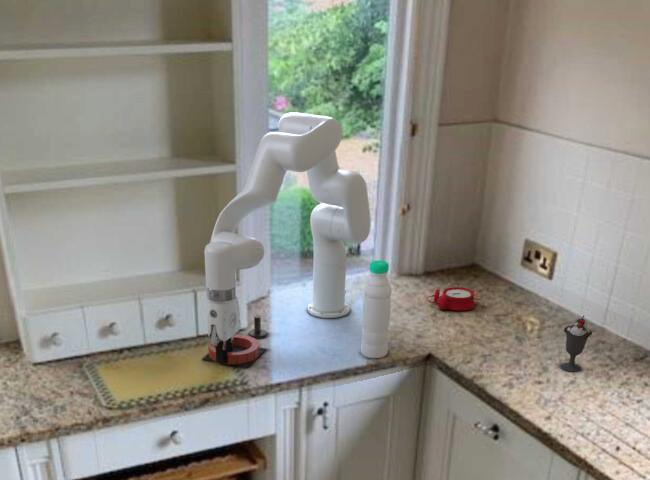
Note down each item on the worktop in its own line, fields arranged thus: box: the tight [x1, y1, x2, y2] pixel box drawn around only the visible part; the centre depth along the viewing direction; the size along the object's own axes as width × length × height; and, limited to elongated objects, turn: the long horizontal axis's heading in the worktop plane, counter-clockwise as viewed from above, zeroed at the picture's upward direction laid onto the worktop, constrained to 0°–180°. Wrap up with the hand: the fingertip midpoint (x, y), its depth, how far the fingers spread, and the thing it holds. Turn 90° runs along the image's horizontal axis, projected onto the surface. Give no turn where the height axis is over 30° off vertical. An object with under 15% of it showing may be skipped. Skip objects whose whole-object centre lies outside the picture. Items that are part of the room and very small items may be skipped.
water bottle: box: [360, 259, 393, 359], centre depth 206 cm, size 7×7×25 cm
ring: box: [208, 334, 260, 365], centre depth 212 cm, size 13×13×3 cm
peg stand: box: [248, 314, 267, 339], centre depth 223 cm, size 5×5×6 cm
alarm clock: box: [426, 286, 482, 312], centre depth 240 cm, size 10×6×15 cm
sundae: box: [560, 314, 593, 373], centre depth 200 cm, size 7×7×15 cm
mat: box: [202, 346, 267, 369], centre depth 213 cm, size 12×13×1 cm
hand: (224, 359), depth 208 cm, fingers closed on ring, 2 cm apart
